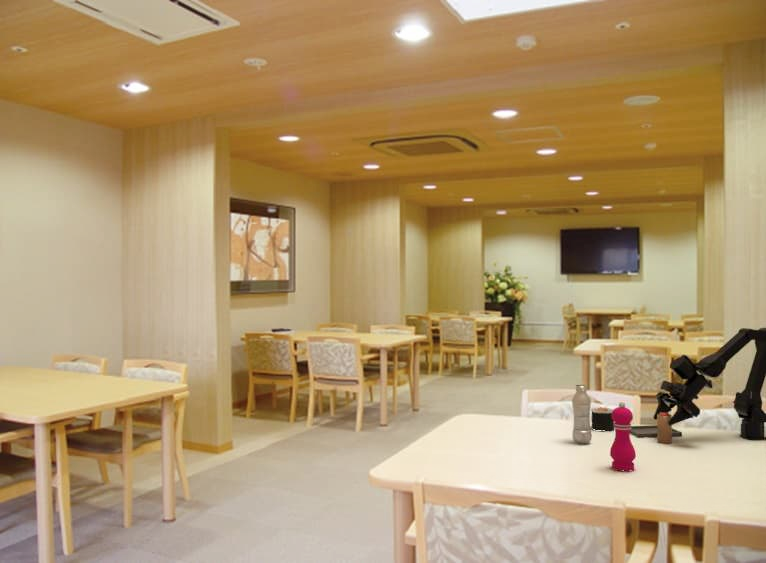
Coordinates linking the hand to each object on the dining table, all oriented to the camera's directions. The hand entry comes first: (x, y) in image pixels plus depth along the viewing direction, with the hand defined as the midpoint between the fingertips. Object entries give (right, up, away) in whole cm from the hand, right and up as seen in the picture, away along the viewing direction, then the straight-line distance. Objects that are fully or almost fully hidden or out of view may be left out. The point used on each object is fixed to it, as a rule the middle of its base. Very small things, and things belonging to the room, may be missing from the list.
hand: (661, 421), depth 226 cm
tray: (+2, -7, +14) cm, 16 cm away
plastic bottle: (-27, -8, +1) cm, 28 cm away
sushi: (-13, -8, +21) cm, 26 cm away
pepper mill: (-24, -8, -29) cm, 39 cm away
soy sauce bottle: (+1, -7, 0) cm, 7 cm away
